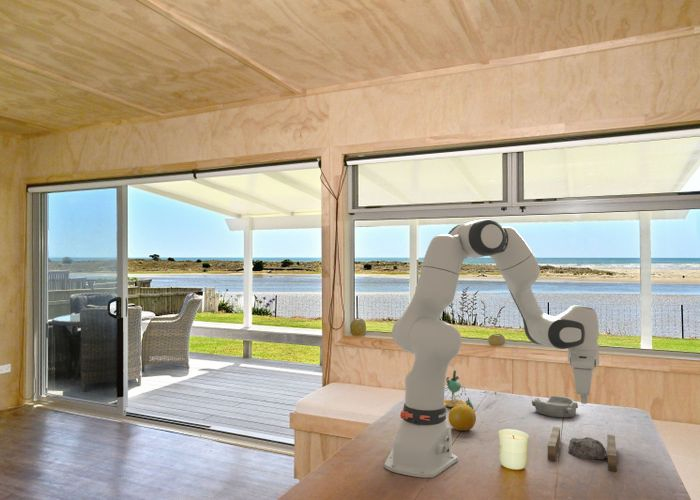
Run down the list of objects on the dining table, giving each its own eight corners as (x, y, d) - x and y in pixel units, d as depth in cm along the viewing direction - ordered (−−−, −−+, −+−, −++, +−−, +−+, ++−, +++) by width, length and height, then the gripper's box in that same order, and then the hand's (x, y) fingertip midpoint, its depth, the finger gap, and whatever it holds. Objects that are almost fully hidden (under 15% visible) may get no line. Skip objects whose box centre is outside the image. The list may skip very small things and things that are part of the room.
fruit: (447, 432, 162) (447, 407, 163) (449, 424, 170) (449, 400, 170) (475, 435, 160) (475, 409, 160) (476, 427, 167) (476, 403, 168)
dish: (528, 412, 186) (528, 398, 186) (547, 405, 194) (547, 392, 195) (566, 422, 174) (566, 407, 175) (584, 414, 183) (584, 400, 183)
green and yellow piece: (458, 414, 182) (455, 373, 184) (432, 407, 198) (430, 368, 200) (480, 411, 186) (477, 370, 187) (453, 404, 202) (450, 366, 204)
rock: (579, 445, 151) (579, 432, 152) (614, 458, 142) (614, 443, 142) (560, 451, 147) (560, 437, 147) (594, 464, 138) (594, 449, 138)
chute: (616, 471, 132) (616, 456, 132) (547, 459, 140) (547, 445, 140) (615, 449, 148) (614, 435, 149) (553, 439, 156) (553, 426, 156)
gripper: (573, 351, 166) (574, 393, 166) (570, 362, 148) (571, 409, 148) (595, 352, 164) (595, 395, 163) (594, 364, 145) (595, 412, 145)
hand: (584, 402), depth 155 cm, fingers closed
